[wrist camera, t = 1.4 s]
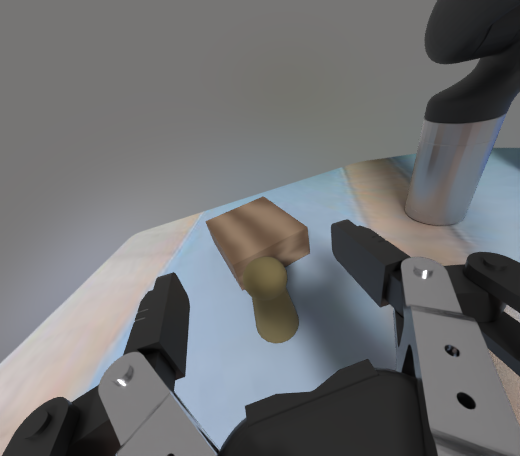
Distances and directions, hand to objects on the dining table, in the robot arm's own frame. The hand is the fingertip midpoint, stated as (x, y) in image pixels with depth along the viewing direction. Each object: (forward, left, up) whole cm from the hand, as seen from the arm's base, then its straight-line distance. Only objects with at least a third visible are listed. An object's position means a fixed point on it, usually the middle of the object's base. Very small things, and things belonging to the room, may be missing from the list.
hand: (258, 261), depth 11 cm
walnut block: (-8, -25, -21) cm, 33 cm away
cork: (-3, -9, -21) cm, 23 cm away
